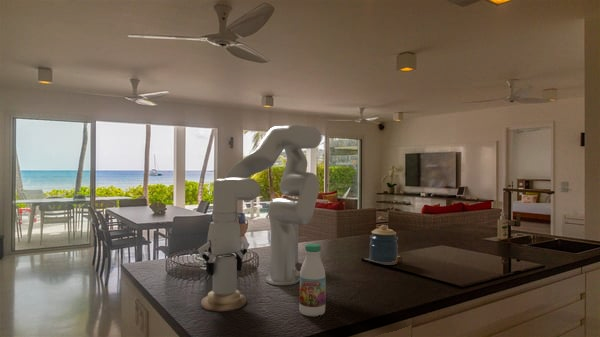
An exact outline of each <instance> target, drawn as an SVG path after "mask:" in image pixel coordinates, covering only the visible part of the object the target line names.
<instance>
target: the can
mask: <svg viewBox="0 0 600 337" xmlns="http://www.w3.org/2000/svg"><path fill="white" fill-rule="evenodd" d="M235 257H236V254H235V253H232V254H225V255H216V256H215V258H214V259H213V261H212V262H213V263H214V275H213V276H212V286H211V287H212V288H211V291H213V292H214V293H215V294H216V295H219V296H227V295H231V294H233V293H234V292H235V291H236V290H238V289H237V287H238V286H237V282H238V281H237V280H238V279H237V276H238V274H237V273H238V270H237V259H236V258H235Z"/></svg>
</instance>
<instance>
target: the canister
mask: <svg viewBox="0 0 600 337" xmlns="http://www.w3.org/2000/svg"><path fill="white" fill-rule="evenodd" d="M371 233H372V234H371V235H370V236H369V239H370V241H369V242H370V243H369V259H371V260H374V261H379V262H392V261H395V260H396V257H397V256H398V257H399V253H398V251H399V245H398V240H399V237H398V236H397V232H396V231H394V230H393V229H390V228H387V225H386V224H382V225H381V226H380V228H375V229H373V230H372V231H371Z"/></svg>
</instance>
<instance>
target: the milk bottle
mask: <svg viewBox="0 0 600 337" xmlns="http://www.w3.org/2000/svg"><path fill="white" fill-rule="evenodd" d="M304 246H305V248H304V250H305V251H304V253H305V258H304V260H303V262H302V265H301V267H300V270H299V271H300V277H299V301H298V302H299V303H298V304H299V305H298V306H299V308H298V310H299V313H300V314H302V315H304V316H306V317H318V316H319V315H320V316H323V315H324V314H325V312H326V270H325V266H324V263H323V262H322V259H321V250H322V248H321V244H318V243H307V244H305V245H304ZM320 316H319V317H320Z"/></svg>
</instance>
